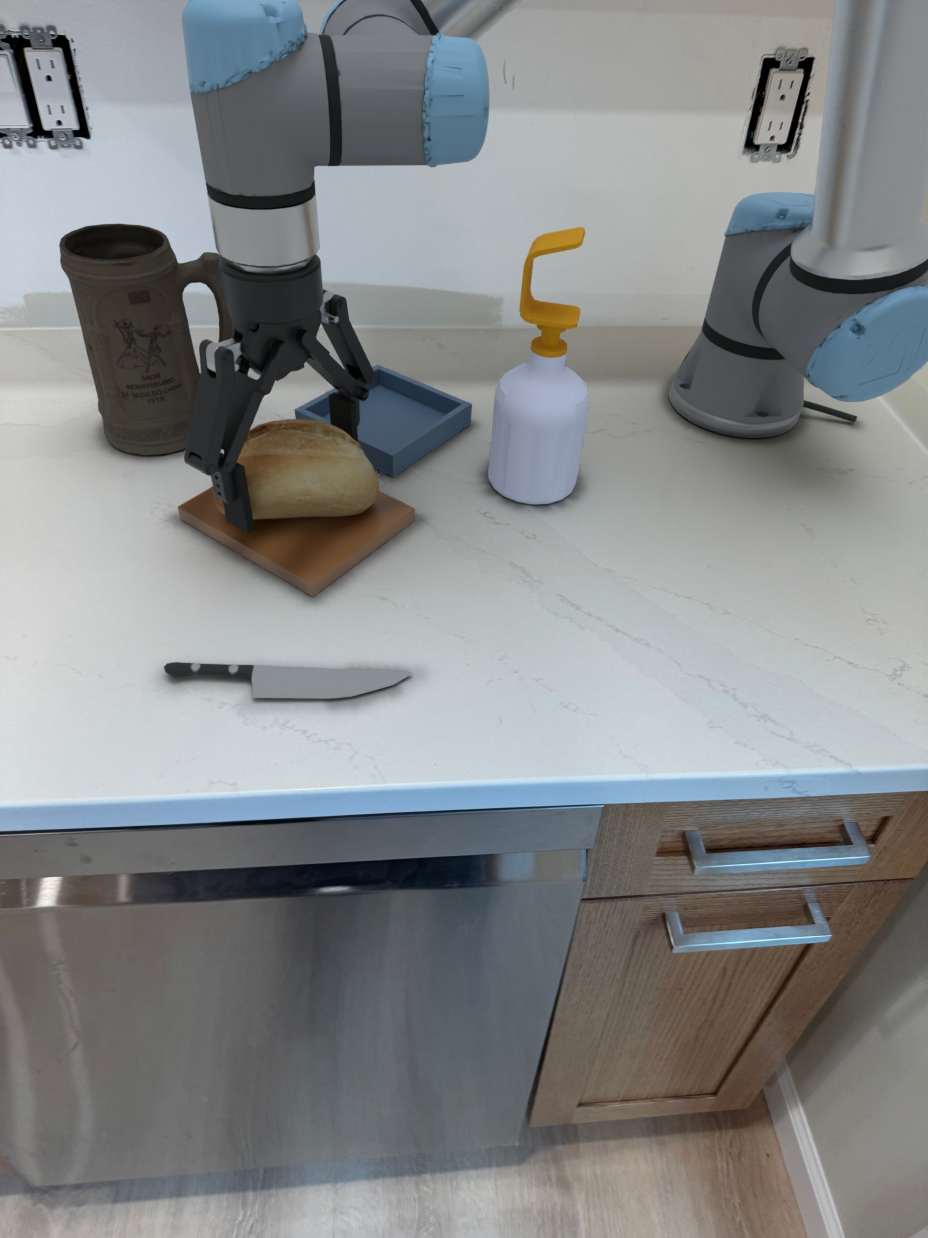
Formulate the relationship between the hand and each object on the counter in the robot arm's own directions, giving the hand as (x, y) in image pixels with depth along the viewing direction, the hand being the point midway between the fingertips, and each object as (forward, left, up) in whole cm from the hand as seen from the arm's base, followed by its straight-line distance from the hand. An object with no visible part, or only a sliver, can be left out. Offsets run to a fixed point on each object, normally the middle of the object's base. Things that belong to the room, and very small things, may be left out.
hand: (296, 490), depth 76 cm
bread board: (0, 0, -3) cm, 3 cm away
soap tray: (+5, -18, -3) cm, 19 cm away
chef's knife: (-14, +16, -3) cm, 21 cm away
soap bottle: (-13, -20, -4) cm, 24 cm away
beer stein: (+22, -4, -4) cm, 22 cm away
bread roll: (0, 0, -2) cm, 2 cm away
